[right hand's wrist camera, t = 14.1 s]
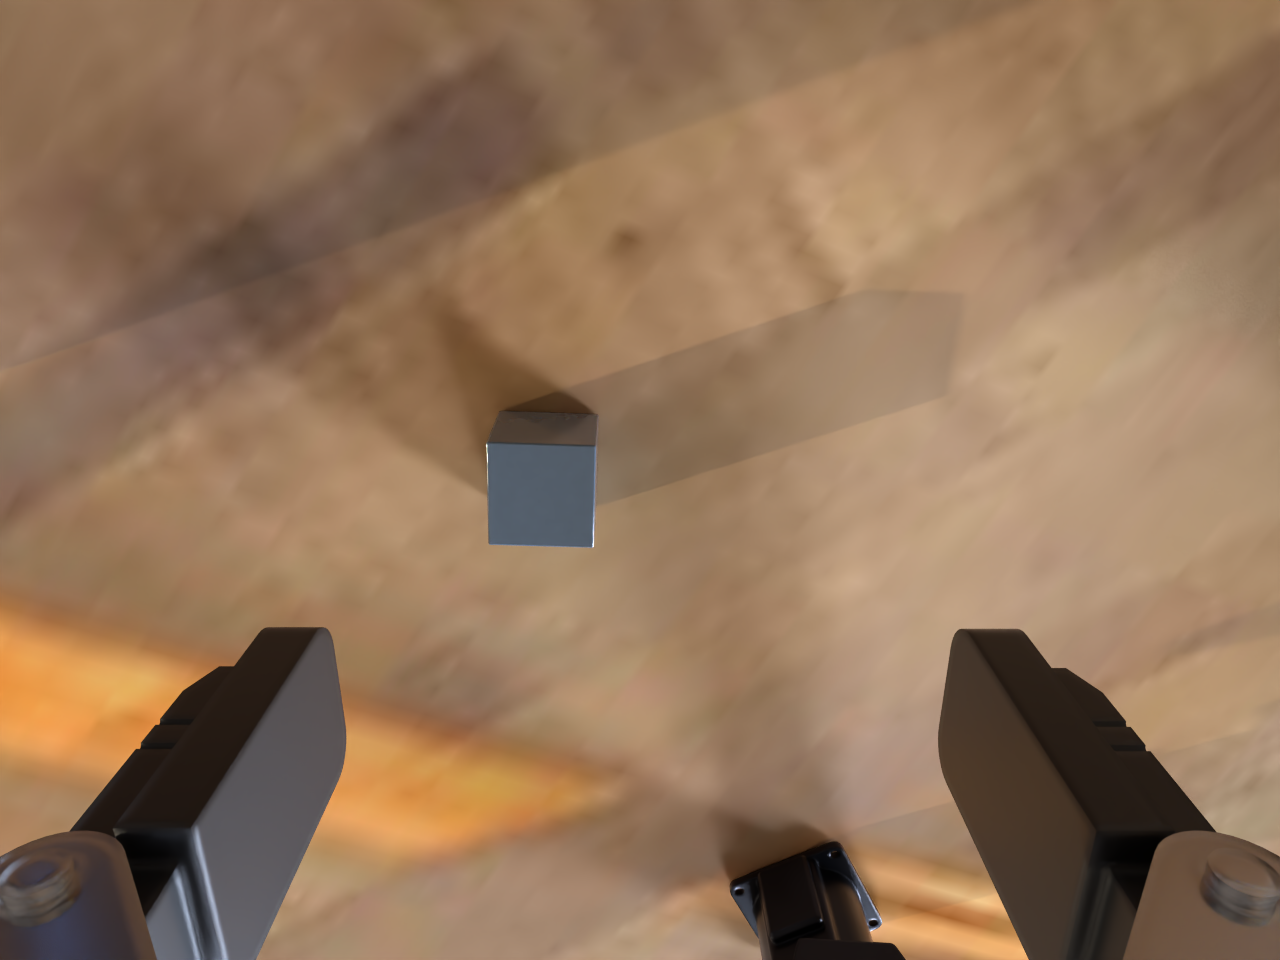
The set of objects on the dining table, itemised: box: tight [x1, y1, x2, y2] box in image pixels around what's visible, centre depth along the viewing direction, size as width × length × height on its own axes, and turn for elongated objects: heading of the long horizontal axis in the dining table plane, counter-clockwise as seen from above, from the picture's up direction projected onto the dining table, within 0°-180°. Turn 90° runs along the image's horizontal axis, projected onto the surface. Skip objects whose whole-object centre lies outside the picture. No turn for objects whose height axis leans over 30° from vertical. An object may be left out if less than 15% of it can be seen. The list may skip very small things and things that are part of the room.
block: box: [486, 411, 598, 548], centre depth 37 cm, size 4×4×4 cm
